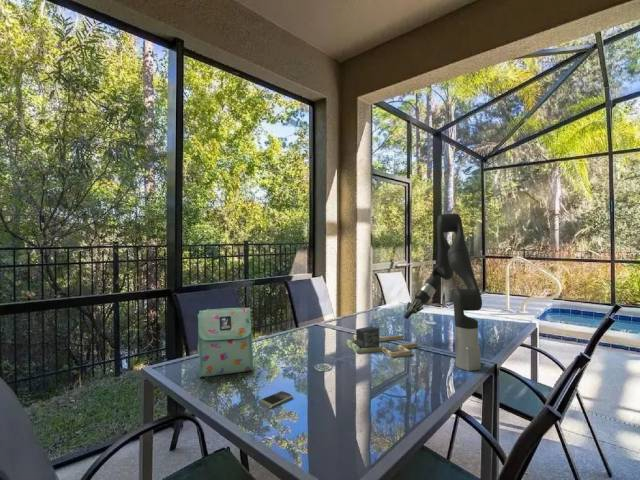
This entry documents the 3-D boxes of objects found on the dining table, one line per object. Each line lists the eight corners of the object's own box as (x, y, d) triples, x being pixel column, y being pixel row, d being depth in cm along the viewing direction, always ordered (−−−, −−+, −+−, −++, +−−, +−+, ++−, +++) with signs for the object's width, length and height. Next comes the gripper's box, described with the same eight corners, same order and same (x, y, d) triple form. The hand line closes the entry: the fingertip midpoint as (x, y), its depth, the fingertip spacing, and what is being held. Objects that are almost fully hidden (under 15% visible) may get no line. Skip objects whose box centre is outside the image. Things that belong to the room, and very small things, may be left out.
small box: (371, 345, 181) (371, 325, 182) (380, 348, 176) (379, 327, 176) (355, 349, 176) (355, 328, 176) (364, 352, 170) (363, 331, 170)
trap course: (429, 353, 167) (429, 347, 167) (365, 360, 158) (365, 353, 158) (393, 334, 203) (393, 329, 203) (339, 339, 194) (339, 334, 194)
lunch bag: (196, 380, 138) (195, 313, 138) (199, 366, 154) (198, 306, 154) (254, 373, 144) (253, 309, 145) (251, 361, 160) (250, 303, 160)
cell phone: (294, 399, 120) (294, 395, 120) (269, 410, 112) (269, 406, 112) (282, 394, 125) (282, 390, 125) (257, 404, 117) (257, 400, 117)
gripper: (414, 287, 192) (394, 311, 189) (427, 290, 180) (407, 315, 176) (422, 296, 193) (403, 320, 190) (436, 299, 181) (416, 325, 177)
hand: (405, 317), depth 183 cm, fingers closed
